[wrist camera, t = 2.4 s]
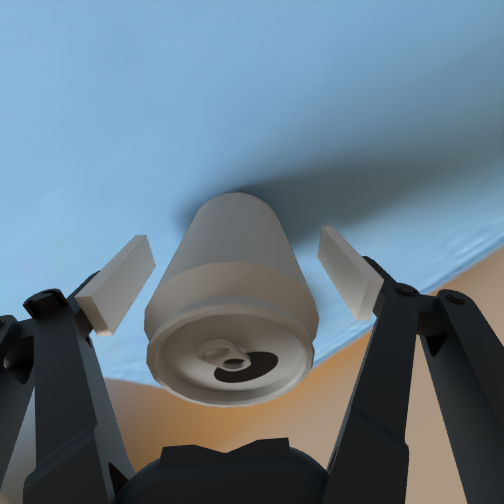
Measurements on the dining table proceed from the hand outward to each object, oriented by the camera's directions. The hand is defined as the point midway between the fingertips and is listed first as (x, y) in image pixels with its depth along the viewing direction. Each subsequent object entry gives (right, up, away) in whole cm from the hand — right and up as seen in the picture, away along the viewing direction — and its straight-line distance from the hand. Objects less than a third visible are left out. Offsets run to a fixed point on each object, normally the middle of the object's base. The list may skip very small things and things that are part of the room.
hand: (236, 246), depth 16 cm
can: (0, +1, +2) cm, 2 cm away
